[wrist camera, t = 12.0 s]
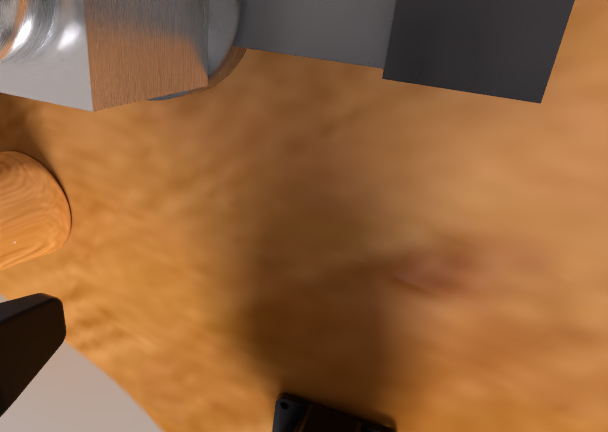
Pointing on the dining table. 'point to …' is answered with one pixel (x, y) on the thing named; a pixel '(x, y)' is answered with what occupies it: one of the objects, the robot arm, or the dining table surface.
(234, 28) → the ratchet
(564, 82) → the dining table surface
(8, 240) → the beer glass
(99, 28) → the cube with round boss
